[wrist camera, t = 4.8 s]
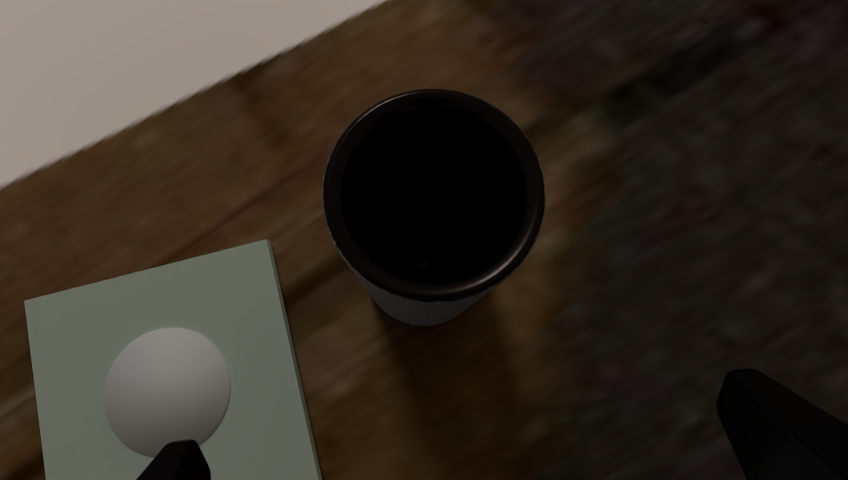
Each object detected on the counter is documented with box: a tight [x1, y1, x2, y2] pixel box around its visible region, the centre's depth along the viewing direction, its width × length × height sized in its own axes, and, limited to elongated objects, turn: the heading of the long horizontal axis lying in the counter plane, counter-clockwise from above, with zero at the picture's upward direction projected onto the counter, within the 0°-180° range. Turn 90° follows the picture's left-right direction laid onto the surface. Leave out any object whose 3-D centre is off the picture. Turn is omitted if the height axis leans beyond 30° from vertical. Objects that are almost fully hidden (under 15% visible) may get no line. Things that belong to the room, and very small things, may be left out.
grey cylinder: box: [322, 89, 545, 326], centre depth 16 cm, size 4×4×10 cm
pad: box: [24, 239, 322, 480], centre depth 19 cm, size 9×9×1 cm
